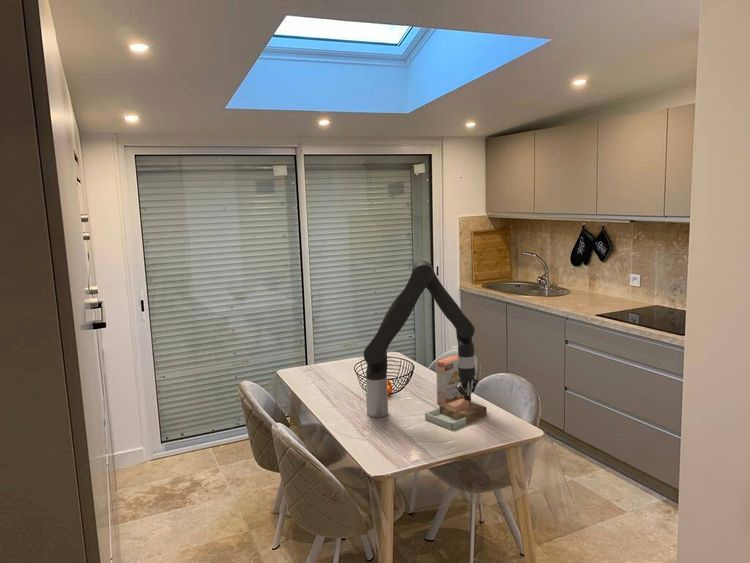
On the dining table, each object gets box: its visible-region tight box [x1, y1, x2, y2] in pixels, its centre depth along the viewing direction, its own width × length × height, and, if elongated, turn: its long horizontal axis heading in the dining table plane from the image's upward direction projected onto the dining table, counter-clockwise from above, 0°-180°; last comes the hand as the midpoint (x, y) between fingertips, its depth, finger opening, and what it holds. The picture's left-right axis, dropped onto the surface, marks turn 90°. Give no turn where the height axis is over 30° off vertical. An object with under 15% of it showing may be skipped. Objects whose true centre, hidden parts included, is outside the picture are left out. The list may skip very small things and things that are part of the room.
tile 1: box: [448, 401, 462, 412], centre depth 237 cm, size 4×4×2 cm
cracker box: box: [435, 354, 464, 405], centre depth 256 cm, size 14×6×21 cm, turn 132°
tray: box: [424, 407, 467, 431], centre depth 233 cm, size 16×9×3 cm, turn 39°
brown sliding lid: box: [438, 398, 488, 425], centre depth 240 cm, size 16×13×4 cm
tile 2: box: [455, 399, 469, 409], centre depth 239 cm, size 4×4×2 cm
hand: (467, 402), depth 242 cm, fingers closed
